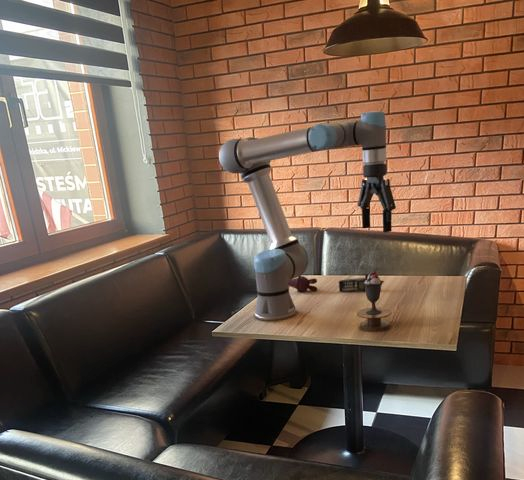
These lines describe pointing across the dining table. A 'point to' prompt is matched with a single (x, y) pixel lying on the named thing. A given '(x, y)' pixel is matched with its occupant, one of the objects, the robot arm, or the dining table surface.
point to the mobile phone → (352, 285)
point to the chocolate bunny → (302, 284)
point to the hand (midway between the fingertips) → (376, 229)
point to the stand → (374, 320)
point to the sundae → (373, 290)
